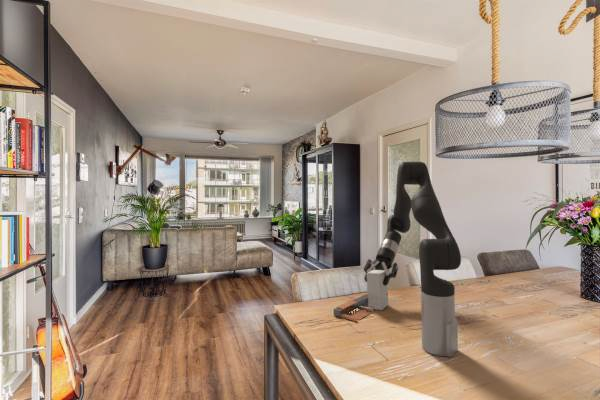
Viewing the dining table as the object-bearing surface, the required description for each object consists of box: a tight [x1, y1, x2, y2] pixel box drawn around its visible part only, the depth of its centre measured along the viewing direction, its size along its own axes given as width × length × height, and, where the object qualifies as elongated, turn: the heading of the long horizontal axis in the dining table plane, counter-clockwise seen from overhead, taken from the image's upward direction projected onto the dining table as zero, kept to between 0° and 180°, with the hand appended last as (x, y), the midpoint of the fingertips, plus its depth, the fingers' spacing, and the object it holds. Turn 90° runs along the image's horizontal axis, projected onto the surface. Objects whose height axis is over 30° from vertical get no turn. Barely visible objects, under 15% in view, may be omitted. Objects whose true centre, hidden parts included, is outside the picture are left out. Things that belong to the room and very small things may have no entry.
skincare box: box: [366, 270, 389, 311], centre depth 131 cm, size 8×6×15 cm
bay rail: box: [333, 293, 374, 323], centre depth 128 cm, size 25×10×3 cm, turn 137°
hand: (375, 282), depth 131 cm, fingers open, 8 cm apart
